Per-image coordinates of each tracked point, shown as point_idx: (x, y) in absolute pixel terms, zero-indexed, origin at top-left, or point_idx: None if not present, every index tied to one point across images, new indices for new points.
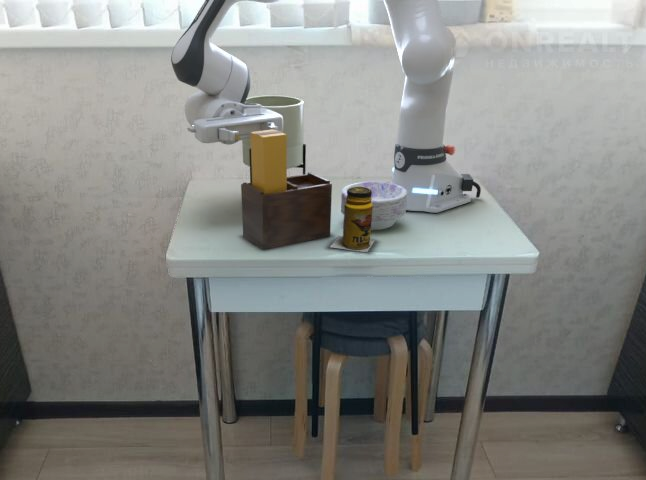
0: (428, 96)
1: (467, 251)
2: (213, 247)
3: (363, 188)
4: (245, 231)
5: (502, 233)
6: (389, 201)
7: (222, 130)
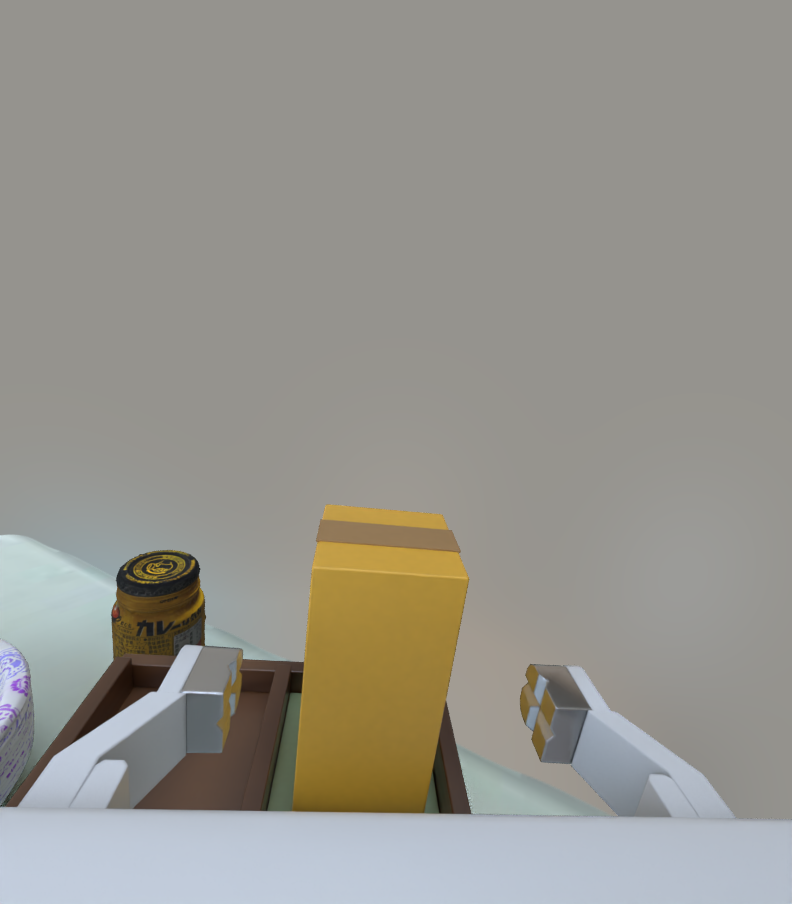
0: None
1: (38, 578)
2: None
3: (132, 570)
4: None
5: None
6: None
7: (677, 761)
